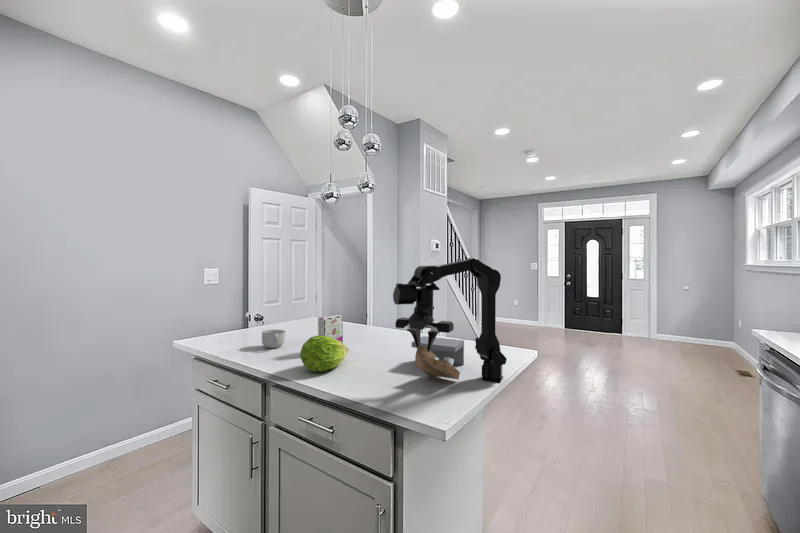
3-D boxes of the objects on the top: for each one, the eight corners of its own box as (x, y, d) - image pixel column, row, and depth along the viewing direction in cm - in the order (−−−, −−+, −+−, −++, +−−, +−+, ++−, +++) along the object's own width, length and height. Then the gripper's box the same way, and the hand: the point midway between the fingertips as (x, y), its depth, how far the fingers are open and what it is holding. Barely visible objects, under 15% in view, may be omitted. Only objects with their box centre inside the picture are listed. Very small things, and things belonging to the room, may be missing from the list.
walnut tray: (458, 379, 128) (461, 364, 130) (435, 359, 114) (438, 343, 116) (428, 375, 134) (431, 361, 137) (403, 356, 120) (407, 340, 123)
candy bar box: (335, 348, 173) (335, 314, 173) (343, 350, 170) (343, 315, 170) (317, 353, 164) (317, 317, 164) (324, 355, 161) (324, 318, 161)
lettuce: (362, 365, 150) (359, 331, 153) (323, 373, 129) (320, 334, 132) (334, 367, 157) (332, 335, 160) (292, 375, 136) (291, 338, 139)
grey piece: (463, 364, 148) (464, 340, 148) (455, 373, 137) (455, 347, 136) (423, 359, 156) (423, 336, 155) (411, 367, 144) (411, 342, 144)
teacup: (262, 345, 179) (262, 329, 179) (285, 343, 182) (285, 328, 182) (260, 352, 166) (260, 334, 166) (285, 350, 169) (285, 333, 169)
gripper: (388, 304, 116) (387, 352, 116) (444, 308, 109) (443, 360, 109) (402, 301, 126) (401, 345, 127) (454, 304, 119) (453, 351, 119)
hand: (423, 350), depth 120 cm, fingers closed on walnut tray, 3 cm apart
